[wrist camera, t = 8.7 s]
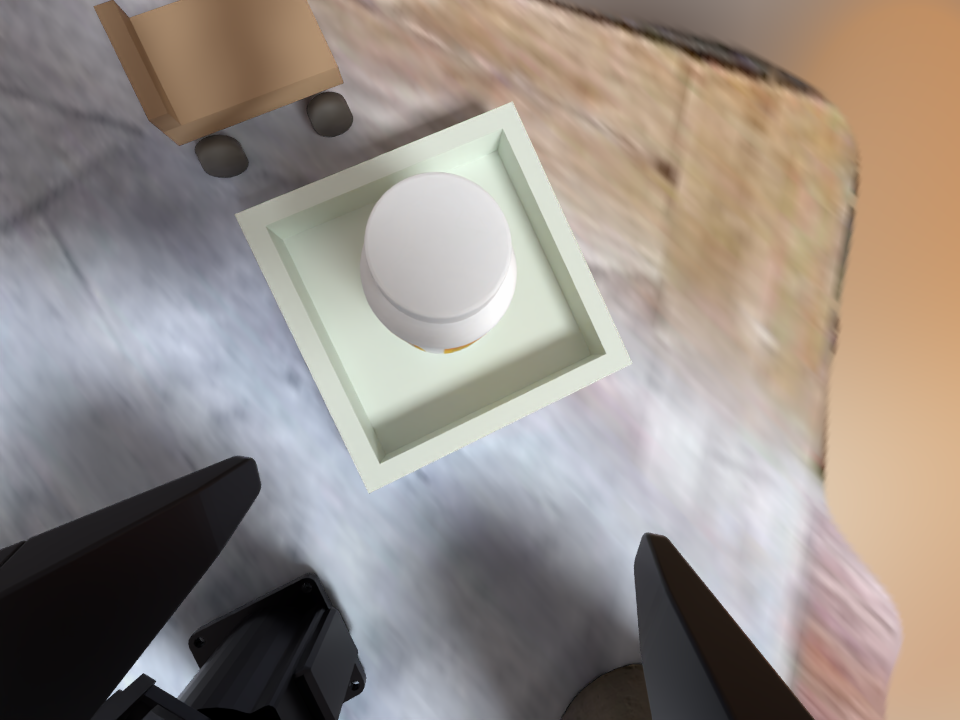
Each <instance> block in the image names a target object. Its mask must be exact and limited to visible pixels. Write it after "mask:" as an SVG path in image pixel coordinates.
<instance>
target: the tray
mask: <svg viewBox="0 0 960 720" xmlns="http://www.w3.org/2000/svg"><path fill="white" fill-rule="evenodd" d="M427 172H445V173H451V174H455V175H458V176H462V177H464V178H466V179H468V180H470V181H472V182H474V183H476V184H478V185H479V186H481V187H482V188H483V189H484V190H485V191H486V192H488V193H489V194H490V195H491V196H492V197H493V199H494V200H495V201H496V202H497V204H498V205H499V207H500V208H501V210H502V212H503V214H504V216H505V218H506V220H507V223H508V226H509V229H510V234H511V242H512V247H513V250H514V254H515V258H516V265H517V280H516V286H515V291H514V295H513V297H512V300H511V303H510V305H509V307H508V309H507V311H506V312H505V314H504V315H503V317H502V318H501V319H500V321H499V322H498V323H497V324H496V325H495V327H494V328H492V329H491V330H490V331H489V332H488V333H487V334H486V335H484V336H483V337H482V338H480V339H479V340H477V341H476V342H474V343H473V344H472V345H470V346H468V347H467V348H465V349H462V350H460V351H457V352H453V353H448V354H434V353H429V352H425V351H422V350H419V349H417V348H415V347H413V346H411V345H410V344H408V343H407V342H405V341H404V340H402V339H400V338H399V337H397V336H396V335H394V334H393V333H392V332H391V331H389V330H388V329H387V328H386V327H385V326H384V325H383V324H382V323H381V322H380V320H379V319H378V318H377V317H376V315H375V314H374V312H373V311H372V309H371V307H370V305H369V304H368V302H367V299H366V296H365V294H364V290H363V286H362V282H361V275H360V259H361V252H362V248H363V244H364V236H365V229H366V225H367V222H368V219H369V216H370V214H371V212H372V209H373V208H374V206H375V204H376V203H377V201H378V200H379V199H380V198H381V196H382V195H383V194H384V193H385V192H386V191H387V190H389V189H390V188H391V187H392V186H394V185H395V184H396V183H398V182H400V181H401V180H403V179H406V178H408V177H410V176H413V175H417V174H421V173H427ZM234 215H235V217H236V219H237V221H238V223H239V225H240V227H241V229H242V231H243V233H244V235H245V237H246V240H247V242H248V244H249V246H250V248H251V250H252V252H253V254H254V256H255V258H256V260H257V262H258V264H259V267H260V269H261V271H262V273H263V275H264V277H265V279H266V281H267V283H268V285H269V287H270V289H271V291H272V293H273V296H274V298H275V300H276V302H277V304H278V306H279V308H280V310H281V312H282V314H283V316H284V318H285V320H286V323H287V325H288V327H289V329H290V331H291V333H292V335H293V337H294V339H295V341H296V343H297V345H298V347H299V350H300V352H301V354H302V356H303V358H304V360H305V362H306V364H307V366H308V368H309V370H310V372H311V374H312V377H313V379H314V381H315V383H316V385H317V387H318V389H319V391H320V393H321V395H322V397H323V399H324V401H325V403H326V406H327V408H328V410H329V412H330V414H331V416H332V418H333V420H334V422H335V424H336V426H337V428H338V430H339V433H340V435H341V437H342V439H343V441H344V443H345V445H346V447H347V449H348V451H349V453H350V455H351V457H352V460H353V462H354V464H355V466H356V468H357V470H358V472H359V474H360V476H361V478H362V480H363V482H364V484H365V487H366V489H367V491H368V493H371V492H373V491H375V490H377V489H379V488H381V487H383V486H385V485H387V484H389V483H391V482H393V481H396V480H398V479H400V478H402V477H404V476H406V475H408V474H410V473H412V472H414V471H416V470H418V469H420V468H422V467H424V466H426V465H428V464H430V463H432V462H434V461H436V460H438V459H440V458H442V457H444V456H446V455H448V454H450V453H452V452H454V451H456V450H458V449H460V448H462V447H464V446H466V445H468V444H470V443H472V442H475V441H477V440H479V439H481V438H483V437H485V436H487V435H489V434H491V433H493V432H495V431H497V430H499V429H501V428H503V427H505V426H507V425H509V424H511V423H513V422H515V421H517V420H519V419H521V418H523V417H525V416H527V415H529V414H531V413H533V412H535V411H537V410H539V409H541V408H543V407H545V406H547V405H549V404H552V403H554V402H556V401H558V400H560V399H562V398H564V397H566V396H568V395H570V394H572V393H574V392H576V391H578V390H580V389H582V388H584V387H586V386H588V385H590V384H592V383H594V382H596V381H598V380H600V379H602V378H604V377H606V376H608V375H610V374H612V373H614V372H616V371H618V370H620V369H622V368H624V367H626V366H629V365H631V364H632V361H631V359H630V357H629V355H628V353H627V351H626V348H625V346H624V344H623V342H622V340H621V337H620V335H619V333H618V331H617V329H616V327H615V324H614V322H613V320H612V318H611V316H610V313H609V311H608V309H607V307H606V305H605V303H604V300H603V298H602V296H601V294H600V292H599V289H598V287H597V285H596V283H595V281H594V279H593V276H592V274H591V272H590V270H589V268H588V265H587V263H586V261H585V259H584V257H583V255H582V252H581V250H580V248H579V246H578V244H577V241H576V239H575V237H574V235H573V233H572V231H571V228H570V226H569V224H568V222H567V220H566V217H565V215H564V213H563V211H562V209H561V207H560V204H559V202H558V200H557V198H556V196H555V193H554V191H553V189H552V187H551V185H550V183H549V180H548V178H547V176H546V174H545V172H544V169H543V167H542V165H541V163H540V161H539V159H538V156H537V154H536V152H535V150H534V148H533V145H532V143H531V141H530V139H529V137H528V135H527V132H526V130H525V128H524V126H523V124H522V121H521V119H520V117H519V115H518V113H517V111H516V108H515V106H514V104H513V102H510V103H508V104H505V105H503V106H500V107H498V108H496V109H493V110H491V111H488V112H486V113H483V114H481V115H478V116H476V117H473V118H471V119H468V120H466V121H463V122H461V123H459V124H456V125H454V126H451V127H449V128H446V129H444V130H441V131H439V132H436V133H434V134H431V135H429V136H426V137H424V138H421V139H419V140H417V141H414V142H412V143H409V144H407V145H404V146H402V147H399V148H397V149H394V150H392V151H389V152H387V153H384V154H382V155H379V156H377V157H375V158H372V159H370V160H367V161H365V162H362V163H360V164H357V165H355V166H352V167H350V168H347V169H345V170H342V171H340V172H338V173H335V174H333V175H330V176H328V177H325V178H323V179H320V180H318V181H315V182H313V183H310V184H308V185H305V186H303V187H300V188H298V189H296V190H293V191H291V192H288V193H286V194H283V195H281V196H278V197H276V198H273V199H271V200H268V201H266V202H263V203H261V204H259V205H256V206H254V207H251V208H249V209H246V210H244V211H241V212H239V213H236V214H234Z"/></svg>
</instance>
